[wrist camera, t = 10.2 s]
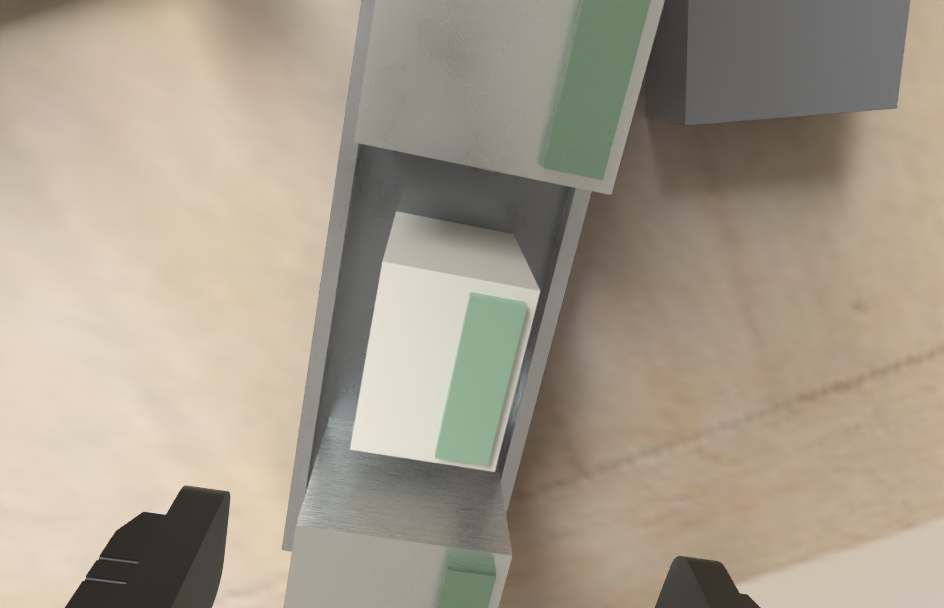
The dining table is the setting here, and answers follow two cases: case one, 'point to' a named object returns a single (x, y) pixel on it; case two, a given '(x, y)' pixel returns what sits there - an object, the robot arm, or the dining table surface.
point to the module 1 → (445, 343)
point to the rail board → (465, 202)
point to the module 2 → (774, 59)
